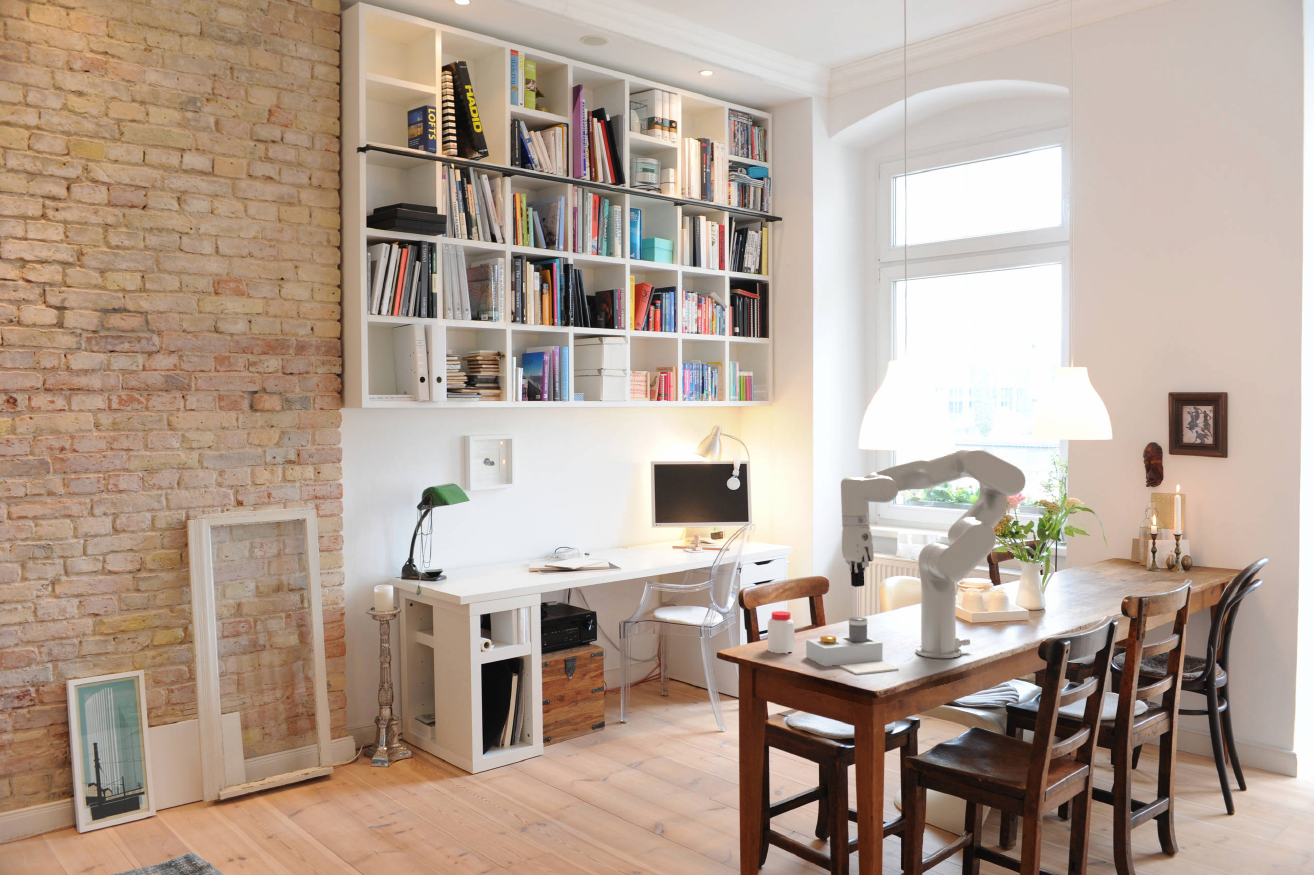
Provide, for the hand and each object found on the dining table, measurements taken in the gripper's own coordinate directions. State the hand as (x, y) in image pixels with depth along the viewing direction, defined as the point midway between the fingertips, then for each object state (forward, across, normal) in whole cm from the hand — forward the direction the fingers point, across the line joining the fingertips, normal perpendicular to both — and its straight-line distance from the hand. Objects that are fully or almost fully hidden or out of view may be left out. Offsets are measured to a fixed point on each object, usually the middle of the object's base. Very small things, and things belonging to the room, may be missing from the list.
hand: (857, 585), depth 286 cm
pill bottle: (+20, +16, +17) cm, 31 cm away
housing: (+20, 0, +5) cm, 21 cm away
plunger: (+20, 0, +10) cm, 22 cm away
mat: (+20, -12, +4) cm, 24 cm away
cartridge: (+20, 0, +1) cm, 21 cm away
